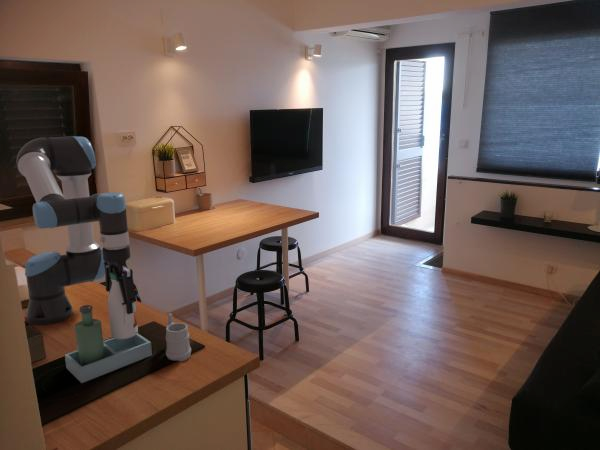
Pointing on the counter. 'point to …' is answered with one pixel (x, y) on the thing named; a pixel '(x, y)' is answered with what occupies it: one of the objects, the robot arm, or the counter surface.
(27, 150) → the robot arm
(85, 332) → the green bottle
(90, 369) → the crate
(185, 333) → the mug
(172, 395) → the counter surface
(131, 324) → the milk bottle
